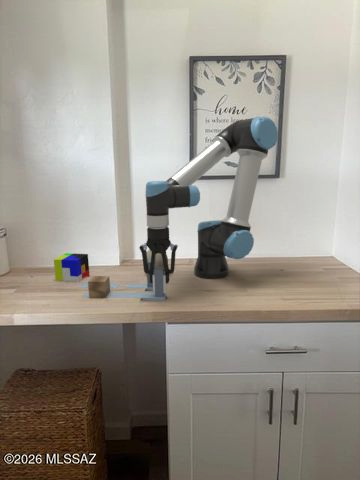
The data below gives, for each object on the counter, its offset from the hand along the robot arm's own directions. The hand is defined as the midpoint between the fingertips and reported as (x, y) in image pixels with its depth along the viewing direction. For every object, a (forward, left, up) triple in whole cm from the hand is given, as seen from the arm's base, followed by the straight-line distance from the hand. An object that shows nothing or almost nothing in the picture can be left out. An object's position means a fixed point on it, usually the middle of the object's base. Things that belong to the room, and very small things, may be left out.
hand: (159, 291), depth 125 cm
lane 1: (+13, 0, -3) cm, 13 cm away
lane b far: (+25, -10, -3) cm, 27 cm away
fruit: (+5, -28, -3) cm, 29 cm away
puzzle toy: (+39, -19, -3) cm, 44 cm away
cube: (+22, 0, -2) cm, 22 cm away
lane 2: (+8, -10, -3) cm, 13 cm away
